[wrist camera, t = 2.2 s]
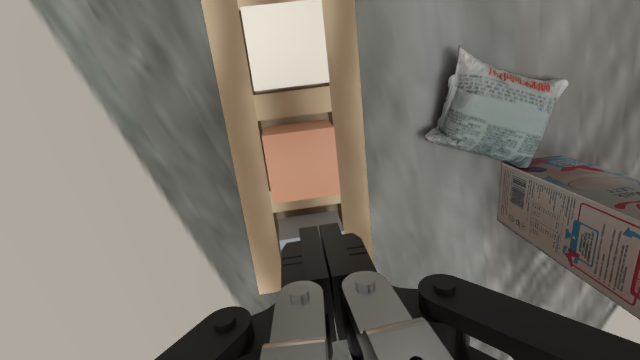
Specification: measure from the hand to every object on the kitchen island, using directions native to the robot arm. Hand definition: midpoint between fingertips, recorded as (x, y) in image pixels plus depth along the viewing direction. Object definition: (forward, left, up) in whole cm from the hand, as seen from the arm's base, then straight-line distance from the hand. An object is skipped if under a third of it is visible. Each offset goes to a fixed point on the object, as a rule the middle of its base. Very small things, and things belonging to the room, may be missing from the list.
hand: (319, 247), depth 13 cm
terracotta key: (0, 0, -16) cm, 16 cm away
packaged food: (-19, -1, -21) cm, 28 cm away
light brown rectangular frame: (0, 0, -21) cm, 21 cm away
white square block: (0, -8, -16) cm, 18 cm away
